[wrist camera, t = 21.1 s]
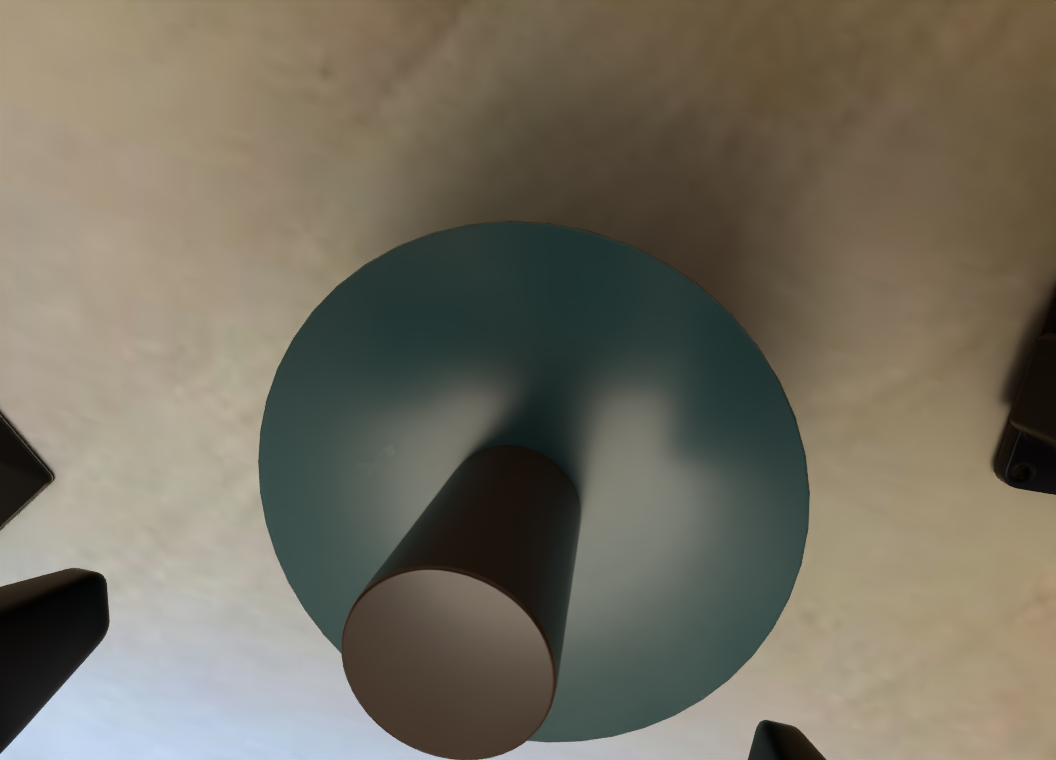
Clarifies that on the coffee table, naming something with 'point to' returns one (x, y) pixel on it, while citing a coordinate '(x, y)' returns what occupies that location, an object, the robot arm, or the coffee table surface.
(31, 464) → the build plate
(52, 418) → the coffee table surface
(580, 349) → the tin lid
